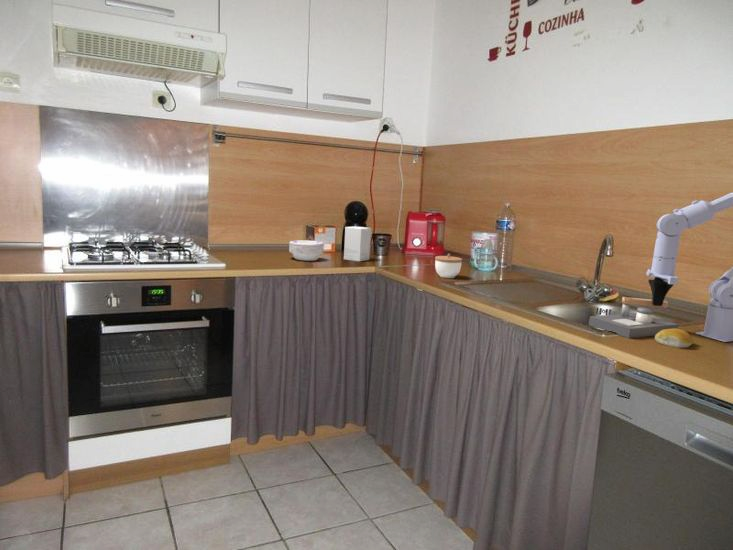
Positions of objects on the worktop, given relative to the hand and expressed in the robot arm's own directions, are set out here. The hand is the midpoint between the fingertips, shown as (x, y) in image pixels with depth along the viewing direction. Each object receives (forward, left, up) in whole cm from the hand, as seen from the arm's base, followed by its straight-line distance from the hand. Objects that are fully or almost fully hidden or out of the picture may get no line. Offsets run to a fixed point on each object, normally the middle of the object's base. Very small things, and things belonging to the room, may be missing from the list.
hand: (657, 305), depth 152 cm
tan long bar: (+1, -3, 0) cm, 3 cm away
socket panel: (+7, -1, -7) cm, 10 cm away
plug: (+5, 0, -7) cm, 8 cm away
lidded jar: (+14, -81, -7) cm, 83 cm away
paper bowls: (+57, -128, -7) cm, 141 cm away
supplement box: (+33, -126, -7) cm, 131 cm away
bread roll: (+8, +12, -7) cm, 16 cm away
